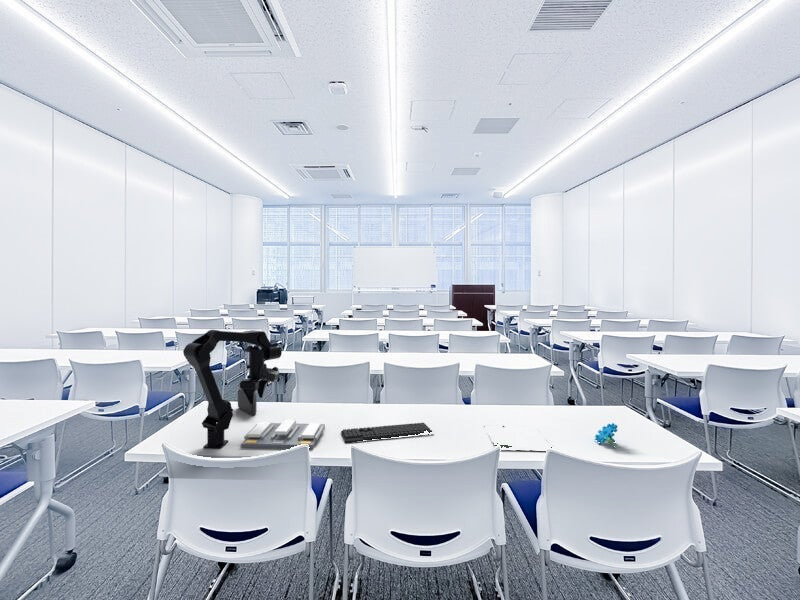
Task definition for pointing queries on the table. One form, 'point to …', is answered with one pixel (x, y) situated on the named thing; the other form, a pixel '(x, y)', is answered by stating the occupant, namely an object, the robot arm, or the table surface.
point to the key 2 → (311, 430)
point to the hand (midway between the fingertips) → (256, 400)
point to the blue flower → (607, 434)
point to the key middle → (285, 427)
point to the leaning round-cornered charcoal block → (246, 403)
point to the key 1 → (259, 429)
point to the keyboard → (383, 432)
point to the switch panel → (281, 438)
